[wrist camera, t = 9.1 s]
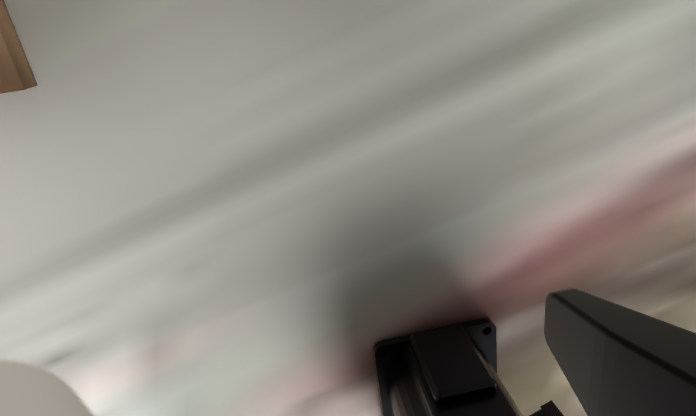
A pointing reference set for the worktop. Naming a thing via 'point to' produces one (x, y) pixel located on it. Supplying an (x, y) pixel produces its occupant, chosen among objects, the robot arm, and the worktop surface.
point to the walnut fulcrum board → (12, 58)
